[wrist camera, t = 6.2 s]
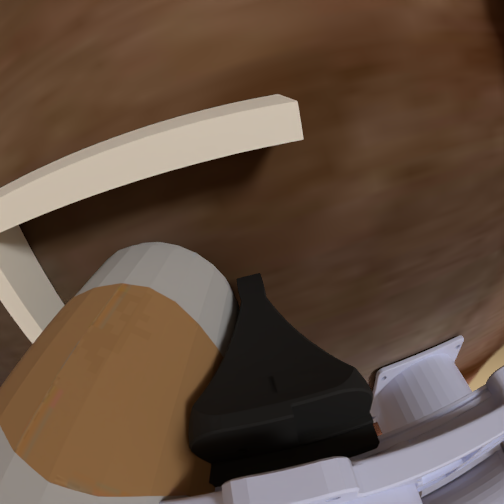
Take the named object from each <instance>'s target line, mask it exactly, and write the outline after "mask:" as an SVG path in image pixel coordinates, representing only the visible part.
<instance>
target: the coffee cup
mask: <svg viewBox="0 0 504 504" xmlns="http://www.w3.org/2000/svg"><path fill="white" fill-rule="evenodd" d="M239 311H240V310H239V306H238V302H237V300H236V298H235V297H234V293H233V291H232V289H231V287H230V285H229V284H228V282H227V280H226V278H225V277H224V276H223V275H222V274H221V273H220V272H219V271H218V270H217V269H216V267H215V266H214V265H213V264H211V263H210V262H208V261H207V260H205V259H204V258H203V257H201V256H200V255H198V254H197V253H195V252H192V251H190V250H188V249H185V248H183V247H180V246H178V245H173V244H168V243H162V242H150V243H141V244H138V245H133V246H130V247H127V248H124V249H122V250H119V251H117V252H116V253H115V254H114V255H112V256H111V257H110V258H109V259H108V260H107V261H106V262H105V263H104V264H103V265H102V266H101V267H100V268H99V269H98V271H97V272H96V273H95V274H94V275H93V276H92V277H91V278H90V279H89V281H88V282H87V283H86V284H85V285H84V286H83V287H82V288H81V290H80V291H79V292H78V293H77V294H76V295H75V297H73V298H72V299H71V300H70V301H69V302H68V303H67V304H66V305H65V306H64V307H62V309H61V310H60V311H59V312H58V313H57V315H56V316H55V317H54V318H53V319H52V321H51V322H50V323H49V324H48V325H47V327H46V328H45V329H44V330H43V332H42V333H41V334H40V335H39V337H38V338H37V339H36V340H35V342H34V343H33V344H32V345H31V347H30V348H29V349H28V351H27V352H26V353H25V354H24V356H23V357H22V358H21V360H20V361H19V362H18V364H17V365H16V366H15V368H14V369H13V370H12V372H11V373H10V375H9V376H8V377H7V379H6V380H5V382H4V383H3V384H2V386H1V387H0V504H159V502H160V501H164V500H171V499H179V498H185V497H191V496H197V495H203V494H208V493H213V492H215V487H214V486H213V485H212V484H209V477H210V470H211V463H208V462H206V461H204V460H202V459H201V458H199V457H197V456H196V455H195V454H194V453H193V452H192V451H191V449H190V448H189V435H188V429H189V419H190V414H191V409H192V406H193V405H194V403H195V402H196V401H197V399H198V398H199V397H200V395H201V394H202V393H203V391H204V390H205V389H206V387H207V386H208V384H209V382H210V381H211V379H212V377H213V376H214V374H215V372H216V371H217V369H218V367H219V365H220V363H221V361H222V359H223V357H224V355H225V353H226V351H227V348H228V346H229V343H230V341H231V338H232V335H233V333H234V330H235V326H236V323H237V319H238V316H239Z"/></svg>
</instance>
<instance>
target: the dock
mask: <svg viewBox="0 0 504 504" xmlns="http://www.w3.org/2000/svg"><path fill="white" fill-rule="evenodd" d="M299 140H303V133H302V126H301V120H300V114H299V108H298V102H297V101H296V100H293V99H290V98H288V97H285V96H282V95H279V94H276V95H270V96H265V97H260V98H255V99H250V100H245V101H240V102H235V103H231V104H226V105H222V106H218V107H214V108H210V109H206V110H202V111H198V112H194V113H190V114H187V115H183V116H179V117H176V118H172V119H169V120H166V121H162V122H159V123H156V124H152V125H149V126H146V127H143V128H140V129H137V130H134V131H131V132H128V133H125V134H122V135H120V136H117V137H114V138H111V139H108V140H106V141H103V142H100V143H98V144H95V145H93V146H90V147H88V148H85V149H83V150H80V151H78V152H75V153H73V154H70V155H68V156H66V157H63V158H61V159H59V160H57V161H54V162H52V163H50V164H48V165H45V166H43V167H41V168H39V169H37V170H35V171H33V172H31V173H29V174H27V175H25V176H23V177H21V178H19V179H17V180H15V181H13V182H11V183H9V184H7V185H5V186H3V187H1V188H0V300H1V302H2V303H3V305H4V306H5V308H6V309H7V310H8V312H9V313H10V315H11V316H12V317H13V319H14V320H15V322H16V323H17V324H18V326H19V327H20V328H21V330H22V331H23V332H24V333H25V335H26V336H27V337H28V339H29V340H30V341H31V342H32V344H33V343H34V342H35V340H36V339H37V338H38V337H39V335H40V334H41V333H42V332H43V330H44V329H45V328H46V327H47V325H48V324H49V323H50V322H51V321H52V319H53V318H54V317H55V316H56V315H57V313H58V312H59V311H60V310H61V309H62V307H64V306H65V305H64V304H63V302H62V301H61V299H60V298H59V296H58V294H57V293H56V291H55V290H54V288H53V286H52V285H51V283H50V281H49V280H48V278H47V276H46V275H45V273H44V271H43V270H42V268H41V266H40V264H39V263H38V261H37V259H36V257H35V255H34V254H33V252H32V250H31V248H30V246H29V244H28V242H27V240H26V239H25V237H24V235H23V233H22V231H21V229H20V227H19V224H21V223H24V222H26V221H28V220H31V219H33V218H35V217H38V216H40V215H43V214H45V213H48V212H50V211H53V210H56V209H58V208H61V207H63V206H66V205H69V204H71V203H74V202H77V201H79V200H82V199H85V198H88V197H90V196H93V195H96V194H99V193H102V192H105V191H108V190H111V189H114V188H117V187H120V186H123V185H126V184H129V183H132V182H135V181H138V180H142V179H145V178H148V177H151V176H155V175H158V174H162V173H165V172H168V171H172V170H175V169H179V168H183V167H186V166H190V165H194V164H197V163H201V162H205V161H209V160H213V159H217V158H221V157H225V156H229V155H233V154H237V153H242V152H246V151H250V150H255V149H259V148H264V147H269V146H273V145H278V144H283V143H288V142H293V141H299Z"/></svg>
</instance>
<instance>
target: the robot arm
mask: <svg viewBox="0 0 504 504" xmlns="http://www.w3.org/2000/svg"><path fill="white" fill-rule="evenodd" d="M237 286H238V291H239V295H240V298H241V306H240V311H239V316H238V319H237V323H236V326H235V330H234V333H233V335H232V338H231V341H230V343H229V346H228V348H227V351H226V353H225V355H224V357H223V359H222V361H221V363H220V365H219V367H218V369H217V371H216V372H215V374H214V376H213V377H212V379H211V381H210V382H209V384H208V386H207V387H206V389H205V390H204V391H203V393H202V394H201V395H200V397H199V398H198V399H197V401H196V402H195V403H194V405H193V406H192V409H191V414H190V419H189V429H188V435H189V448H190V449H191V451H192V452H193V453H194V454H195V455H196V456H197V457H199V458H201V459H202V460H204V461H206V462H208V463H211V470H210V477H209V484H212V485H213V486H214V487H215V492H213V493H208V494H203V495H197V496H191V497H185V498H179V499H171V500H164V501H160V502H159V504H504V366H502V367H501V368H499V369H498V370H496V371H495V372H494V373H493V374H492V375H491V376H490V377H489V379H488V380H487V382H486V384H485V385H484V386H482V387H480V388H478V389H477V390H475V391H473V392H472V391H471V389H470V388H469V386H468V384H467V383H466V381H465V379H464V378H463V376H462V374H461V373H460V371H459V370H458V368H457V367H456V365H455V363H454V362H455V359H456V357H457V355H458V353H459V350H460V348H461V346H462V343H463V341H464V338H463V337H462V336H457V337H455V338H453V339H451V340H449V341H447V342H444V343H442V344H440V345H438V346H435V347H433V348H431V349H428V350H426V351H424V352H421V353H419V354H417V355H414V356H412V357H409V358H407V359H404V360H402V361H399V362H396V363H394V364H391V365H389V366H386V367H383V368H381V369H380V370H378V371H377V374H376V379H375V384H374V388H373V393H372V391H371V389H370V387H369V385H368V384H367V382H366V381H365V379H364V378H363V377H362V375H361V374H360V373H359V372H358V370H357V369H356V368H355V367H353V366H351V365H348V364H346V363H344V362H343V361H341V360H339V359H337V358H335V357H334V356H332V355H330V354H329V353H327V352H325V351H324V350H322V349H321V348H319V347H318V346H317V345H315V344H314V343H312V342H311V341H309V340H308V339H307V338H306V337H304V336H303V335H302V334H301V333H299V332H298V331H297V330H296V329H295V328H294V327H293V326H292V325H291V324H289V323H288V322H287V321H286V320H285V318H284V317H283V316H282V315H281V314H280V313H279V312H278V311H277V310H276V309H275V307H274V306H273V305H272V304H271V303H270V301H269V300H268V299H267V297H266V293H265V289H264V284H263V281H262V278H261V274H260V273H258V274H254V275H250V276H246V277H242V278H238V279H237ZM375 422H378V425H379V427H380V429H381V432H382V435H380V436H377V434H376V431H375V429H374V426H373V423H375Z"/></svg>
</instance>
